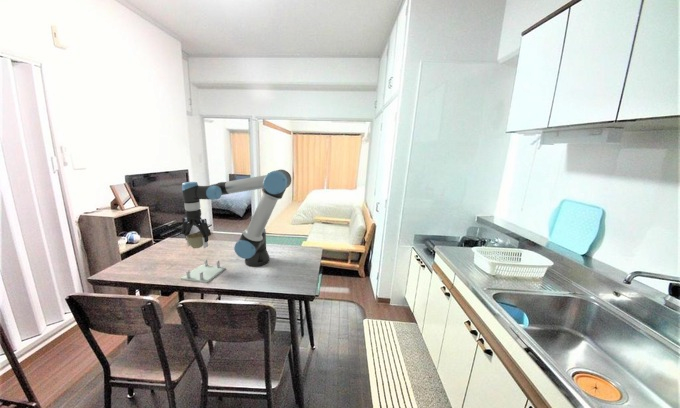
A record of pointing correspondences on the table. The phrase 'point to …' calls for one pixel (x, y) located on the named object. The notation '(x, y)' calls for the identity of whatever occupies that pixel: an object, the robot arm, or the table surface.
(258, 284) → the table surface
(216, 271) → the tray
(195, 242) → the tan round bowl
